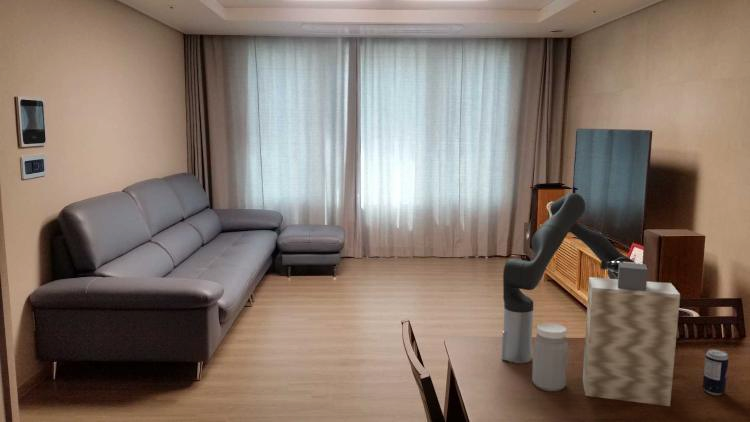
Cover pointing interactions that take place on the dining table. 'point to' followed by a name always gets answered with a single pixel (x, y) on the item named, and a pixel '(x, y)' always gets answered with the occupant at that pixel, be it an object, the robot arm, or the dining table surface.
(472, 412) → the dining table surface
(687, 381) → the dining table surface
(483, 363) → the dining table surface
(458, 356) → the dining table surface
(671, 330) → the beige zigzag box
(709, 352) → the beverage can
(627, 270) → the salmon and grey blocks
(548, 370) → the jar
